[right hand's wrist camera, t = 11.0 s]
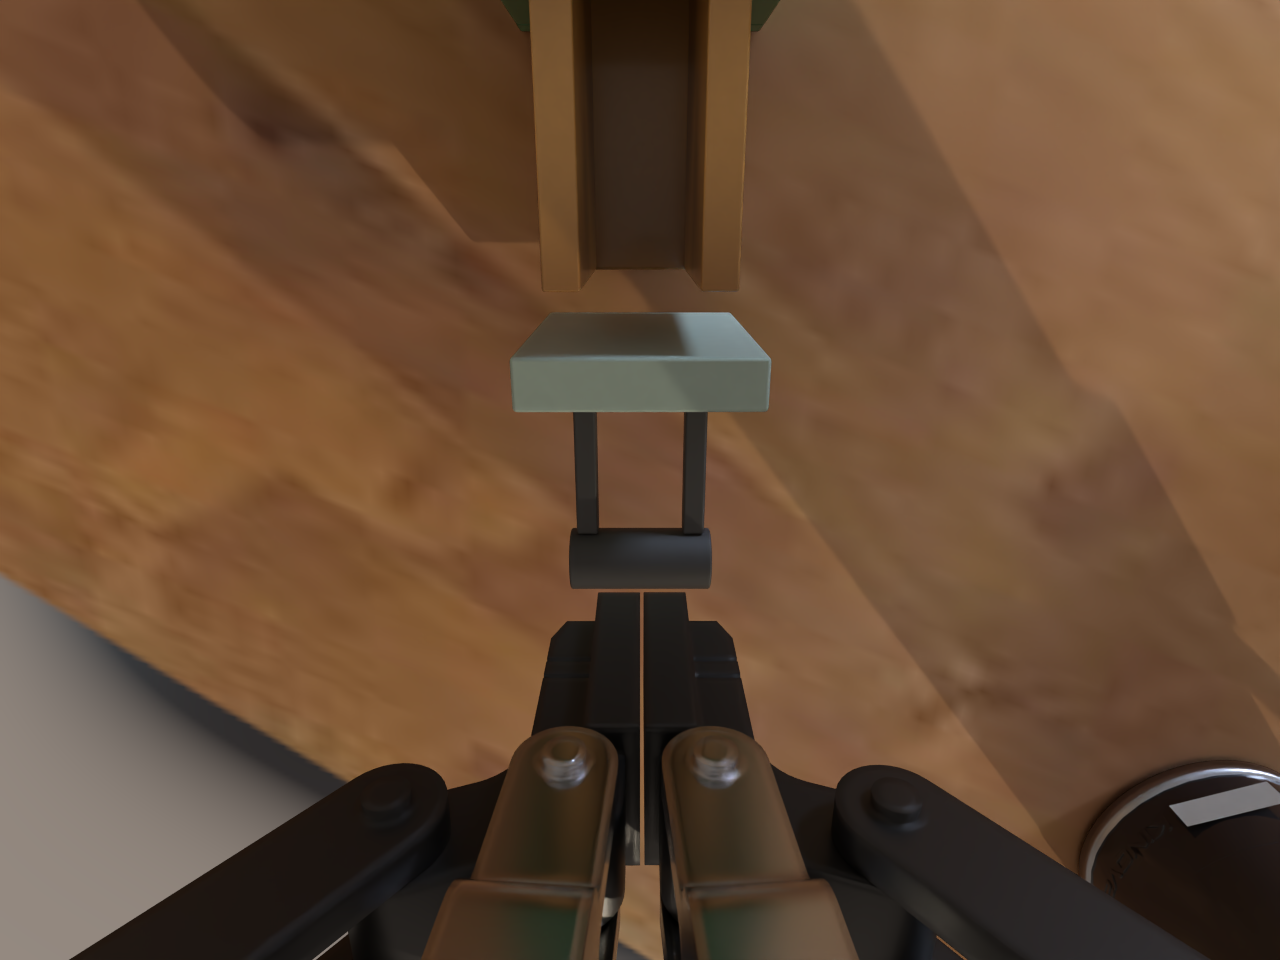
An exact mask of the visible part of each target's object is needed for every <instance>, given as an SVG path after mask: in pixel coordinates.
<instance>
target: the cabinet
mask: <svg viewBox="0 0 1280 960" xmlns="http://www.w3.org/2000/svg"><path fill="white" fill-rule="evenodd" d="M501 1H502V3H503V4H504V6H505V7H506V9H507V10H508V12H509V13H510V15H511V16H512V18H513V19H514V21H515V22H516V24H517V26H518V27H519V29H520V30H521V31H530V16H529V0H501ZM779 1H780V0H752V11H751V31H759V30H760V29H761V28H762V26H763V25H764V23H765V22H766V21H767V19H768V18H769V16H770V15H771V13H772V12H773V10H774V9H775V7H776V6H777V4H778V3H779Z"/></svg>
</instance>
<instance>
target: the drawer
mask: <svg viewBox="0 0 1280 960" xmlns="http://www.w3.org/2000/svg"><path fill="white" fill-rule="evenodd" d="M751 11H752V0H529V16H530V38H531V60H532V82H533V104H534V126H535V148H536V171H537V193H538V215H539V237H540V259H541V281H542V291H544V292H578V291H580V290H581V288H582V287H583V286H584V284H585V283H586V282H587V280H588V279H589V278H590V276H591V275H592V274H593V272H594V271H595V270H679V269H685V270H686V271H687V273H688V274H689V275H690V277H691V278H692V279H693V281H694V282H695V283H696V284H697V286H698V287H699V288H700V290H701V291H703V292H736V291H738V290H739V280H740V258H741V235H742V213H743V190H744V168H745V146H746V123H747V101H748V78H749V56H750V33H751ZM510 375H511V391H512V408H513V410H514V411H515V412H573V421H574V452H575V482H576V513H577V528H573V529H572V531H571V535H570V546H569V575H570V585H571V588H573V589H708V588H709V587H710V584H711V574H712V548H711V536H710V531H709V529H708V528H704V509H705V478H706V447H707V415H708V412H765V411H767V410H768V408H769V392H770V376H771V359H770V357H769V356H768V355H767V354H766V353H765V352H764V350H763V349H762V348H761V347H760V346H759V345H758V344H757V343H756V341H755V340H754V339H753V338H752V337H751V336H750V335H749V333H748V332H747V331H746V330H745V329H744V328H743V327H742V326H741V324H740V323H739V322H738V321H737V320H736V319H735V318H734V317H733V315H732V314H731V313H729V312H685V313H550V314H549V315H548V316H547V317H546V318H545V320H544V321H543V322H542V323H541V324H540V325H539V326H538V328H537V329H536V330H535V331H534V332H533V333H532V334H531V336H530V337H529V338H528V339H527V340H526V341H525V343H524V344H523V345H522V346H521V347H520V348H519V349H518V351H517V352H516V353H515V354H514V355H513V356H512V357H511V359H510ZM597 412H684V444H683V492H682V528H599V500H598V453H597Z"/></svg>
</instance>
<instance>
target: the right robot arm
mask: <svg viewBox="0 0 1280 960" xmlns="http://www.w3.org/2000/svg"><path fill="white" fill-rule="evenodd" d="M643 692H644V838H645V865H659V870H660V928H661V937H662V946H663V955H664V960H964V959H962V958H961V957H960V956H959V955H957V954H956V953H955V952H954V951H952V950H951V949H950V948H949V947H947V946H946V945H945V944H944V943H942V942H941V941H940V940H939V939H937V938H936V936H937V935H938V936H939V937H940V938H941V939H943V940H944V941H945V942H946V943H948V944H949V945H950V946H951V947H953V948H954V949H955V950H956V951H958V952H959V953H960V954H961V955H963V956H964V957H965V958H966V959H968V960H1280V773H1278V772H1276V771H1274V770H1272V769H1269V768H1267V767H1264V766H1261V765H1257V764H1253V763H1249V762H1243V761H1232V760H1216V761H1205V762H1198V763H1193V764H1188V765H1184V766H1180V767H1177V768H1173V769H1170V770H1168V771H1165V772H1162V773H1160V774H1157V775H1155V776H1153V777H1151V778H1149V779H1147V780H1145V781H1143V782H1141V783H1139V784H1138V785H1136V786H1135V787H1133V788H1131V789H1130V790H1128V791H1127V792H1126V793H1124V794H1123V795H1122V796H1120V797H1119V798H1118V799H1117V800H1115V801H1114V802H1113V803H1112V804H1111V805H1110V806H1109V807H1108V808H1107V809H1106V810H1105V811H1104V812H1103V813H1102V814H1101V816H1100V817H1099V818H1098V819H1097V820H1096V822H1095V823H1094V825H1093V826H1092V828H1091V829H1090V831H1089V833H1088V835H1087V837H1086V839H1085V841H1084V844H1083V847H1082V850H1081V854H1080V860H1079V875H1080V876H1078V875H1076V874H1075V873H1073V872H1072V871H1070V870H1069V869H1067V868H1065V867H1064V866H1062V865H1061V864H1059V863H1058V862H1056V861H1054V860H1053V859H1051V858H1050V857H1048V856H1047V855H1045V854H1043V853H1042V852H1040V851H1039V850H1037V849H1036V848H1034V847H1032V846H1031V845H1029V844H1028V843H1026V842H1025V841H1023V840H1021V839H1020V838H1018V837H1017V836H1015V835H1013V834H1012V833H1010V832H1009V831H1007V830H1006V829H1004V828H1002V827H1001V826H999V825H998V824H996V823H995V822H993V821H991V820H990V819H988V818H987V817H985V816H984V815H982V814H980V813H979V812H977V811H976V810H974V809H973V808H971V807H969V806H968V805H966V804H965V803H963V802H961V801H960V800H958V799H957V798H955V797H954V796H952V795H950V794H949V793H947V792H946V791H944V790H943V789H941V788H939V787H938V786H936V785H935V784H933V783H932V782H930V781H928V780H927V779H925V778H923V777H921V776H920V775H918V774H915V773H913V772H911V771H908V770H905V769H902V768H898V767H893V766H886V765H869V766H863V767H859V768H856V769H854V770H852V771H850V772H848V773H847V774H846V775H844V776H843V777H842V778H841V780H840V781H839V783H838V785H837V788H836V789H834V788H830V787H826V786H822V785H818V784H814V783H810V782H806V781H803V780H799V779H797V778H794V777H792V776H790V775H787V774H786V773H784V772H782V771H780V770H779V769H777V768H776V767H775V766H773V765H772V764H771V763H770V762H769V759H768V757H767V755H766V752H765V751H764V750H763V748H762V747H761V746H760V745H759V744H758V743H757V742H756V741H755V740H754V736H753V731H752V727H751V722H750V717H749V713H748V708H747V703H746V699H745V694H744V689H743V685H742V680H741V678H740V671H739V666H738V662H737V657H736V652H735V648H734V643H733V638H732V637H731V636H730V635H729V634H728V633H727V632H726V631H725V630H724V629H723V627H722V626H721V625H720V624H719V623H718V622H717V621H689V619H688V610H687V602H686V594H685V592H644V662H643ZM625 865H640V592H599V593H598V599H597V609H596V618H595V621H567V622H566V623H565V624H564V625H563V626H562V627H561V628H560V629H559V631H558V632H557V633H556V634H555V635H554V636H553V637H552V638H551V642H550V647H549V652H548V657H547V662H546V667H545V671H544V678H543V681H542V686H541V691H540V696H539V701H538V705H537V710H536V715H535V720H534V725H533V730H532V735H531V737H529V738H528V739H527V740H525V741H524V742H523V743H522V744H521V745H520V746H519V747H518V748H517V750H516V751H515V752H514V755H513V757H512V759H511V762H510V765H509V768H508V769H507V770H505V771H503V772H502V773H500V774H498V775H496V776H494V777H491V778H489V779H487V780H483V781H480V782H477V783H473V784H469V785H465V786H461V787H457V788H452V789H448V790H447V787H446V784H445V782H444V780H443V779H442V777H441V776H440V775H439V774H438V773H437V772H435V771H434V770H432V769H430V768H428V767H425V766H422V765H418V764H410V763H400V764H391V765H386V766H382V767H379V768H376V769H373V770H370V771H368V772H366V773H364V774H362V775H360V776H358V777H356V778H355V779H353V780H352V781H350V782H348V783H347V784H345V785H344V786H342V787H341V788H339V789H337V790H336V791H334V792H333V793H331V794H330V795H328V796H327V797H325V798H323V799H322V800H320V801H319V802H317V803H315V804H314V805H312V806H311V807H309V808H308V809H306V810H304V811H303V812H301V813H300V814H298V815H297V816H295V817H293V818H292V819H290V820H289V821H287V822H285V823H284V824H282V825H281V826H279V827H278V828H276V829H275V830H273V831H271V832H270V833H268V834H267V835H265V836H263V837H262V838H260V839H259V840H257V841H256V842H254V843H252V844H251V845H249V846H248V847H246V848H244V849H243V850H241V851H240V852H238V853H237V854H235V855H233V856H232V857H230V858H229V859H227V860H226V861H224V862H222V863H221V864H219V865H218V866H216V867H215V868H213V869H211V870H210V871H208V872H207V873H205V874H204V875H202V876H200V877H199V878H197V879H196V880H194V881H193V882H191V883H189V884H188V885H186V886H185V887H183V888H181V889H180V890H178V891H177V892H175V893H174V894H172V895H171V896H169V897H167V898H166V899H164V900H163V901H161V902H159V903H158V904H156V905H155V906H153V907H152V908H150V909H148V910H147V911H145V912H144V913H142V914H141V915H139V916H137V917H136V918H134V919H133V920H131V921H129V922H128V923H126V924H125V925H123V926H122V927H120V928H118V929H117V930H115V931H114V932H112V933H111V934H109V935H107V936H106V937H104V938H103V939H101V940H100V941H98V942H96V943H95V944H93V945H92V946H90V947H89V948H87V949H85V950H84V951H82V952H81V953H79V954H78V955H76V956H74V957H73V958H71V959H70V960H312V959H314V958H315V957H316V956H317V955H319V954H320V953H321V952H322V951H324V950H325V949H326V948H327V947H329V946H330V945H331V944H332V943H334V942H335V941H336V940H337V939H339V938H340V937H341V936H342V935H344V934H345V933H346V932H347V931H348V935H346V936H345V937H344V938H343V939H341V940H340V941H339V942H338V943H337V944H335V945H334V946H333V947H332V948H330V949H329V950H328V951H326V952H325V953H324V954H323V955H322V956H320V957H319V958H318V959H316V960H616V955H617V946H618V937H619V928H620V906H621V904H622V901H623V898H624V892H625Z"/></svg>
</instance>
